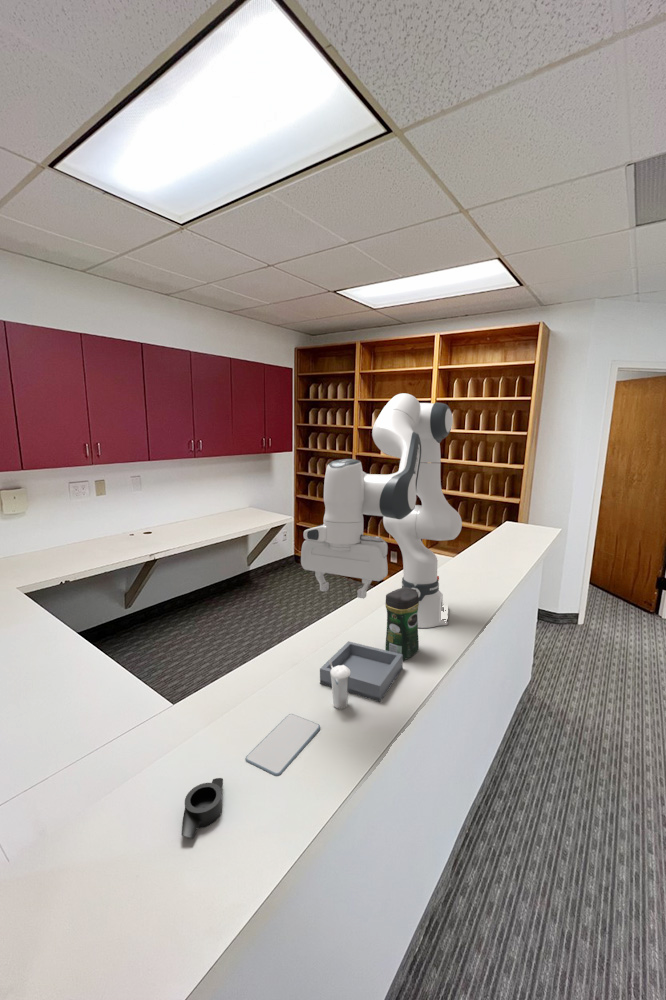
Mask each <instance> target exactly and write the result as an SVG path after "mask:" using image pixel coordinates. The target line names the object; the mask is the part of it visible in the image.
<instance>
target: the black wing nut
mask: <svg viewBox="0 0 666 1000" xmlns="http://www.w3.org/2000/svg"><path fill="white" fill-rule="evenodd" d="M223 787H224V779H223V778H222V777H217V778H213V779H212V781H211V782H204V783H200V784H198V785H195V786H194V787H193V788H192V789H190V791H188V792H187V794H186V796H185V797H184V798H185V799H184V811H183V817H182V825H181V836H182V837H185V838H188V839H192V840H193V839H194V838H195V835H196V833H197V831H198V830H199V829H204V828H207V827H209V826H211V825H212V824H214V823H215V822H217V821H218V820H219V818H220V816H221V815H222V812H223V807H224V806H223V791H222V790H223Z"/></svg>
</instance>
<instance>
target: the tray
mask: <svg viewBox="0 0 666 1000" xmlns="http://www.w3.org/2000/svg"><path fill="white" fill-rule="evenodd" d="M329 660H331V663H332V666H333V667H335V666H338V665H345V666H346V667H348V668H349V669H350V681H349V694H352V695H355V696H359V697H363V698H366V699H369V700H372V701H375V702H378V703H380V702H381V701H382V699H383V698H384V696H386V694H387V692H388V691H389V689H390V688H391V687H392V685H393V684H394V682H395V680H396V679H397V677H398V676H399V675H400V673H401V671H402V670H403V661H404V660H403V654H399V653H395V652H390V651H386V650H385V649H381V648H377V647H374V646H369V645H365V644H362V643H356V642H352V641H347V642H346V643H345V644H344V645H343V646H342V647H341V648H339V650H337V652H336V653H334V654H333V655H332V656H331V657H330V658H329V659H328V660H327V661H326V662H325V663H324V664H323V665H322V666H321V667H320V668H319V684H320V685H323V686H326V687H330V688H332V683H331V675H330V671H331V669H332V668H331V665H330V662H329Z"/></svg>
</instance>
